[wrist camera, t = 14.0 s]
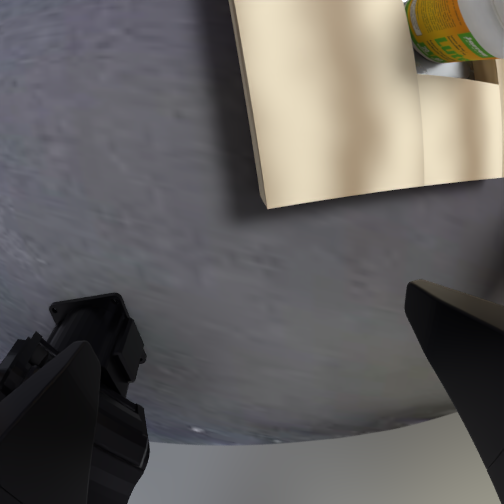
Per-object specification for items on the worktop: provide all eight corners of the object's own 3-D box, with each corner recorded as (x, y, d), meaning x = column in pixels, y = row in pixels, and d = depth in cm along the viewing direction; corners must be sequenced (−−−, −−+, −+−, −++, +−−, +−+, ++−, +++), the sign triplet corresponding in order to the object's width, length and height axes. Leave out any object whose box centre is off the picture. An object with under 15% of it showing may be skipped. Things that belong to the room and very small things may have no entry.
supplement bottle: (401, 55, 17) (506, 37, 8) (395, -12, 14) (486, -55, 6) (458, 71, 17) (560, 71, 8) (453, 9, 15) (545, -11, 6)
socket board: (260, 196, 20) (267, 209, 17) (219, -49, 13) (220, -71, 10) (491, 167, 21) (515, 176, 18) (466, -20, 14) (488, -28, 11)
